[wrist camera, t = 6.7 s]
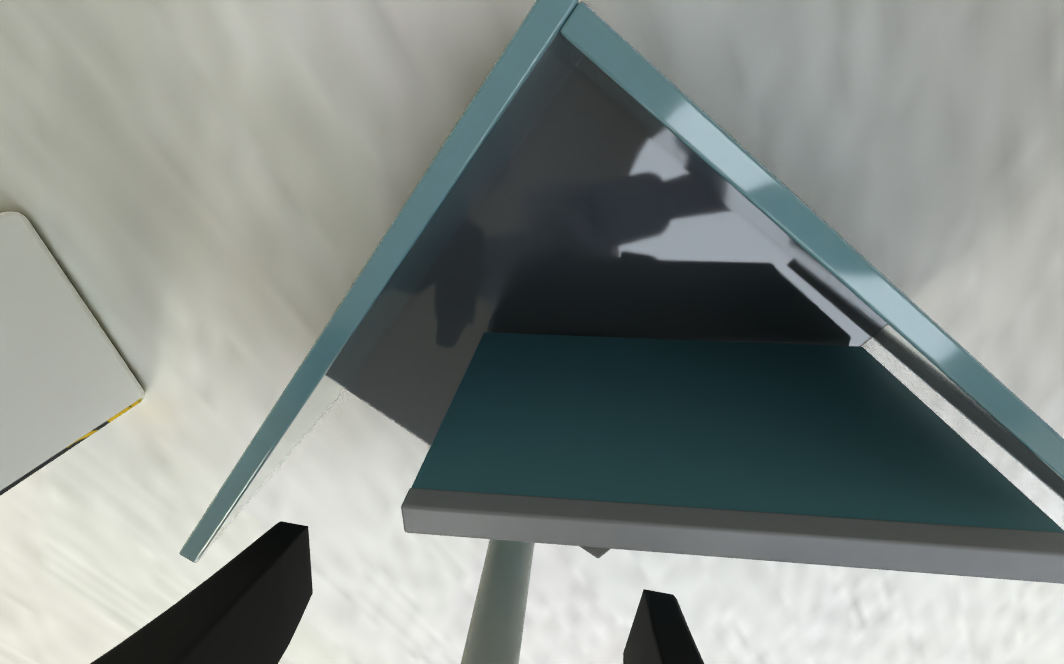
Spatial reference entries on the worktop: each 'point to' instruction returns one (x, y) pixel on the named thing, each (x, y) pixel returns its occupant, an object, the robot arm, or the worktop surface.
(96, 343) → the medicine bottle
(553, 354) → the teal shelf
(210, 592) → the robot arm
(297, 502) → the worktop surface
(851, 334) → the teal open box
